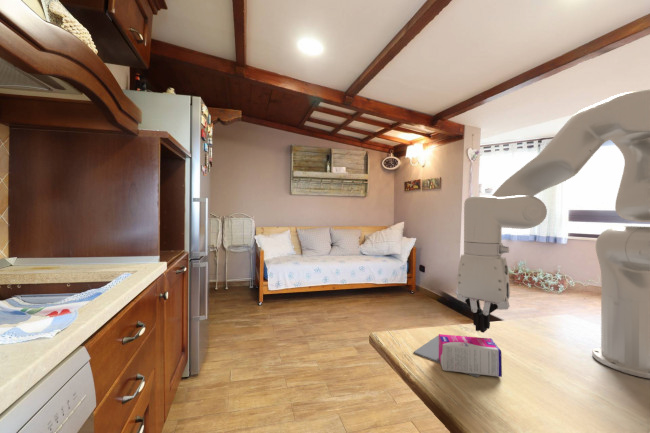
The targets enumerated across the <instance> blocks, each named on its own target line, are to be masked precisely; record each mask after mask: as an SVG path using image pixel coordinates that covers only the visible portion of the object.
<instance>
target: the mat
mask: <svg viewBox="0 0 650 433" xmlns="http://www.w3.org/2000/svg"><path fill="white" fill-rule="evenodd" d="M413 354H415V355H417V356H419V357H421V358H422V357H423V358H425V359H427V360H431V361H433V362H435V363H437V364H440V365H441V363H440V360H439V334H438V335H436V336H435V337H433V338H432V339H430V340H429V341H427V342H426V343H424V344H423V345H422V346H420V347H419V348H417V349H415V350H413ZM465 374H467V375H470V376H472V377H475V378H479V377H480V376H481V374H472V373H465Z"/></svg>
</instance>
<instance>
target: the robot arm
mask: <svg viewBox="0 0 650 433" xmlns="http://www.w3.org/2000/svg"><path fill="white" fill-rule="evenodd" d="M608 141H611V142H612V144H614V145H615V146H616V147H617V148H618V150H619V151H620V152H621V154H622V156H623V159H624V160H623V161H624V165H623V166H624V168H623V172H622V176H621V180H620V184H619V187H618V191H617V195H616V199H615V205H614V206H615V209H614V210H615V213H616V214H617V215H618V216H619V217H620V218H622V219H624V220H626V221H631V222H640V223H650V88H649V89H641V90H636V91H634V90H633V91H629V92H624V93H620V94H616V95H614V96H610V97H609V98H607V99H603V100H601V101H600V102H597V103H594V104H593V105H590V106H588V107H585V108H583V109H581V110H579V111H578V112H577V113H574V114H573V115H572V116H571V117H570V118H569V119H568V120H567V121H566V123H565V124H564V125H563V126H562V127H561V128H560V130H558V132H557V133H556V134H555V135H554V136H553V137H552V139H551V140H550V141H549V142H548V143H547V145H546V146H545V147H544V148H543V149H542V150H541V151H540V152H539V153H538V155H536V156H535V157H534V158H533V159H531V160H530V161H528V162H527V163H526V164H525V165H523V167H521V168H520V169H519V170H517V171H516V172H515V173H514V174H512V175H511V176H510V177H508V179H506V180H505V181H504V182H503V183H502V184H501V185H499V187H498V188H497V189H496V190H495V192H493V194H492V195H477V196H476V195H475V196H469V197H467V198H466V199H465V200H464V203H463V204H464V206H463V209H464V210H463V253H462V254H460V258H459V261H458V262H459V263H458V268H457V275H456V276H457V277H456V293H457V294H456V299H457V300H458V301H461V302H463V303H465V304H466V305H467V306H468V307H469V308H470V309H471V310H470V311H471V312H472V314H473V318H472V319H473V323H472V324H473V326H475V331H476V332H480V333H485V332H487V330H488V329H490V327H491V314H492V313H493V312H495V311H496V310H499V311H500V310H505V311H507V310H508V309H510V307H511V305H510V302H509V299H510V297H511V296H510V294H511V288H510V276H509V267H508V260H507V258H506V257H505V256H503V254H505V253H507V254H509V253H510V247H509V246H505V245H503V242H502V233H503V232H502V229H504V228H505V229H506V228H507V229H520V230H523V229H524V230H525V229H532V228H534V227H538V226H539V225H541V224H542V223H543V222H544V221H545V219H546V217H547V214H548V209H547V206H546V204H545V203H544V202H543V200H541V199H539V197H536V195H537V194H540V193H541V192H544V191H545V190H547V189H550V188H552V187H555V186H557V185H559V184H562V183H564V182H566V181H567V180H569V179H571V178H573V177H574V176H576V175H577V174H579V172H580V171H581V170H582V169H583V167H584V166H585V165H586V164H587V163H588V161H589V160H590V159H591V158H592V157H593V156H594V154H595V153H596V152H597V151H598V150H599V149H600V148H601V147H602V145H604V144H605V143H606V142H608ZM595 252H596V257H597V260H598V265H599V268H600V277H601V278H600V280H601V284H600V285H601V299H600V302H601V304H600V305H601V306H600V307H601V309H600V310H601V315H600V316H601V317H600V318H601V319H600V320H601V323H600V324H601V326H600V329H601V330H600V334H601V335H600V336H601V337H600V338H601V339H600V340H601V343H600V345H601V347H595V348H593V349H592V350H591V351H592V354H591V355H592V357H593V359H595V360H596V361H598V363H601V364H602V365H604V366H607V367H608V368H611V369H613V370H616V371H619V372H622V373H623V374H628V375H631V376H636V377H639V378H645V379H648V380H649V379H650V226H637V225H636V226H635V225H633V226H632V225H631V226H629V225H625V226H616V227H610V228H608V229H606V230H604V231H602V232H601V233H600V234H599V235H598V236H597V238H596V242H595ZM481 302H483V308H482V307H481Z"/></svg>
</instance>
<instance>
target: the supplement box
mask: <svg viewBox="0 0 650 433" xmlns="http://www.w3.org/2000/svg"><path fill="white" fill-rule="evenodd" d="M438 335H439V360H440V363H441V364H440V363H439V364H440V367H441V368H442V371H447V372H458V373H464V374H466V373H472V374H480V376H491V377H498V378H499V377H501V378H502V377H503V368H502V366H503V364H502V363H503V362H502V360H503V359H502V350H501V349H500V348H499V347H498V345H497V344H496V342H495V341H494V339H492V338H489V337H478V336H467V335H466V336H464V335H455V334H454V335H452V334H443V333H442V334H440V333H439V334H438Z"/></svg>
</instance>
